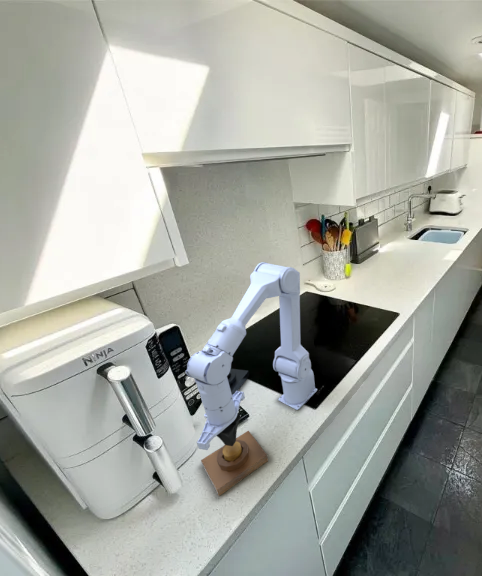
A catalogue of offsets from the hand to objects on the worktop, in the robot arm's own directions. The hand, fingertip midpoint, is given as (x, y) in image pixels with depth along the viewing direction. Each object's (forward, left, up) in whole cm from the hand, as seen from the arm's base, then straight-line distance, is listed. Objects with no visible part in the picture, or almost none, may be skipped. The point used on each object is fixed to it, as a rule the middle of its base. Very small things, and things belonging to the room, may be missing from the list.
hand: (230, 443), depth 72 cm
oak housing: (0, 0, -7) cm, 7 cm away
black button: (-16, -25, -4) cm, 30 cm away
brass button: (0, 0, -4) cm, 4 cm away
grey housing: (-16, -25, -7) cm, 30 cm away
